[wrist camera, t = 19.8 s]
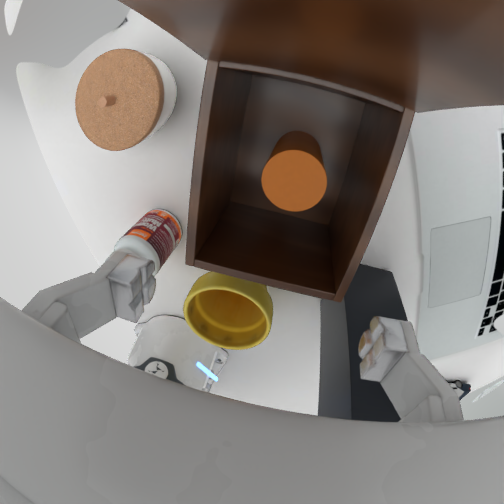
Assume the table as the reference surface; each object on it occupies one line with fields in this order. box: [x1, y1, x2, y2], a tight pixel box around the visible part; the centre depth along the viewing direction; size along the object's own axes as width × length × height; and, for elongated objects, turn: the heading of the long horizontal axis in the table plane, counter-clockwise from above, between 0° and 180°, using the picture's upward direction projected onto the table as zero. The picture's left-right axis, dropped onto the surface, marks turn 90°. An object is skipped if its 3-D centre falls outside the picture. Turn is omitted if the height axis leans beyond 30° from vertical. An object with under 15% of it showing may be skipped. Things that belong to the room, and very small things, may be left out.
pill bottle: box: [104, 209, 182, 276], centre depth 34 cm, size 6×6×11 cm
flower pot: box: [183, 271, 273, 350], centre depth 36 cm, size 10×10×10 cm
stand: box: [318, 264, 408, 422], centre depth 29 cm, size 8×8×24 cm
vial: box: [261, 131, 327, 212], centre depth 25 cm, size 5×5×10 cm
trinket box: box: [75, 49, 177, 151], centre depth 25 cm, size 11×11×9 cm
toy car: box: [449, 380, 471, 401], centre depth 47 cm, size 5×16×5 cm, turn 80°
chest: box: [185, 60, 415, 303], centre depth 25 cm, size 17×14×13 cm
